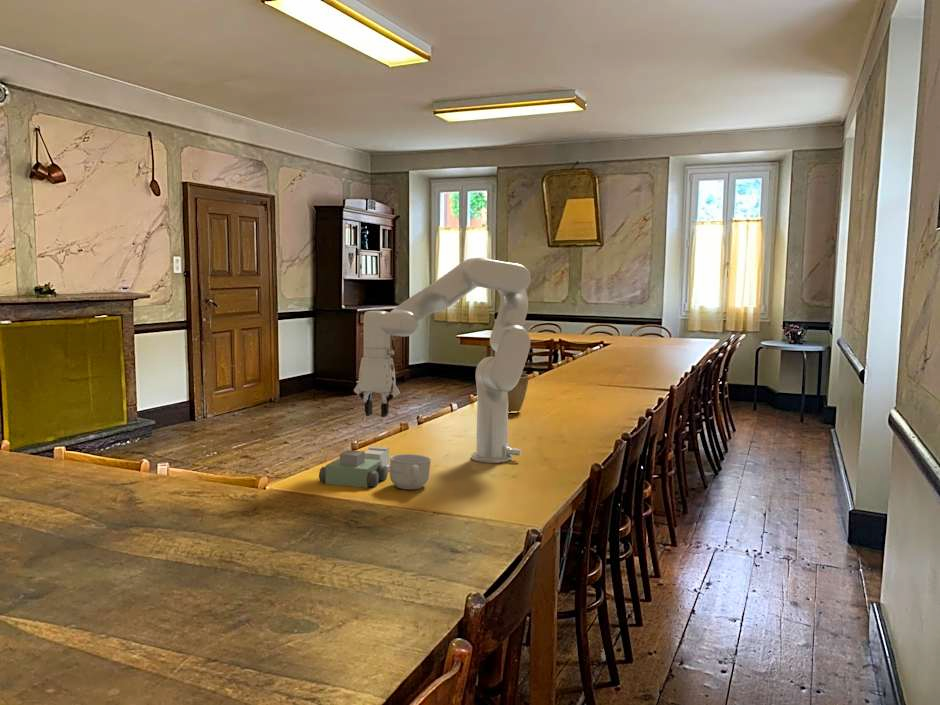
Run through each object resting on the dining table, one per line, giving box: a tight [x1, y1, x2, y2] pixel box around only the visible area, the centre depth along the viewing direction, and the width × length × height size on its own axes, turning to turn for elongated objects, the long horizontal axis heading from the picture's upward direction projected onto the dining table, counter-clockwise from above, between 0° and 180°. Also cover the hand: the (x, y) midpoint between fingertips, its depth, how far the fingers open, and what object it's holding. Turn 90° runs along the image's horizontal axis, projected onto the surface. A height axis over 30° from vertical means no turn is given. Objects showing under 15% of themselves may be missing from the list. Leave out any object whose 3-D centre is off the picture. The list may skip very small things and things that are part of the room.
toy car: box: [318, 449, 390, 489], centre depth 200 cm, size 16×19×8 cm
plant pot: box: [507, 373, 530, 412], centre depth 302 cm, size 15×15×16 cm
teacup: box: [389, 453, 432, 490], centre depth 189 cm, size 14×11×8 cm
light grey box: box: [365, 445, 390, 466], centre depth 211 cm, size 6×7×6 cm
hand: (376, 415), depth 210 cm, fingers open, 4 cm apart
